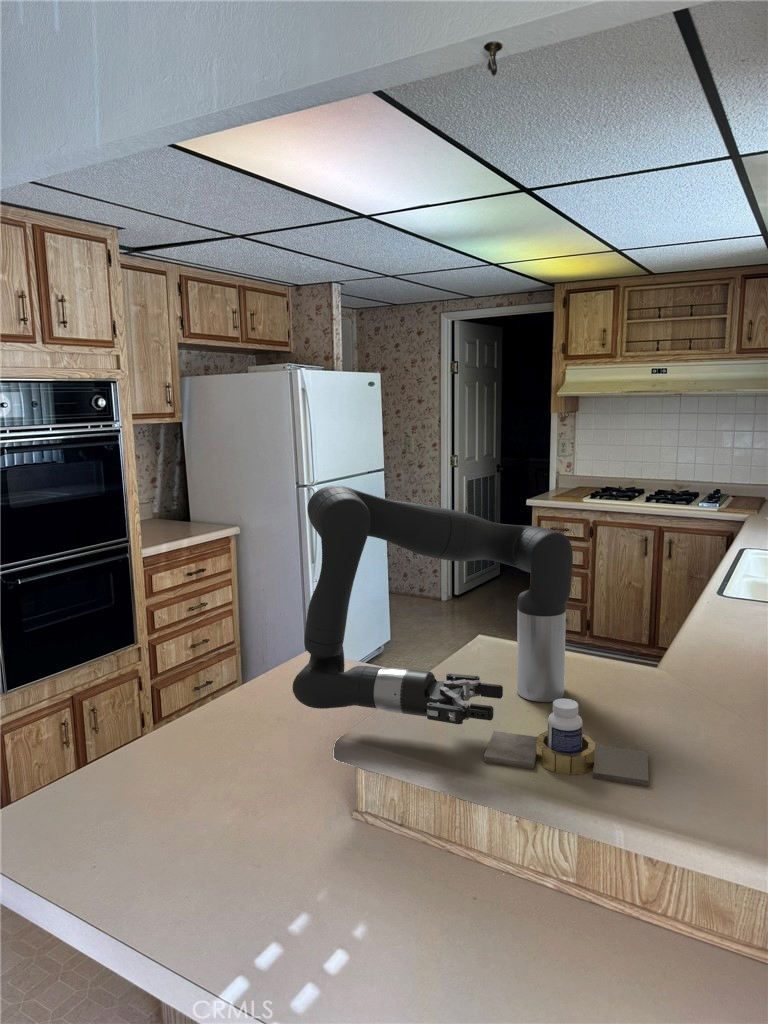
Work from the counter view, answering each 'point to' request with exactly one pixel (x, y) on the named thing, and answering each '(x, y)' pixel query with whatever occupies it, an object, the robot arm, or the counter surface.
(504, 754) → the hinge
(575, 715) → the pill bottle
